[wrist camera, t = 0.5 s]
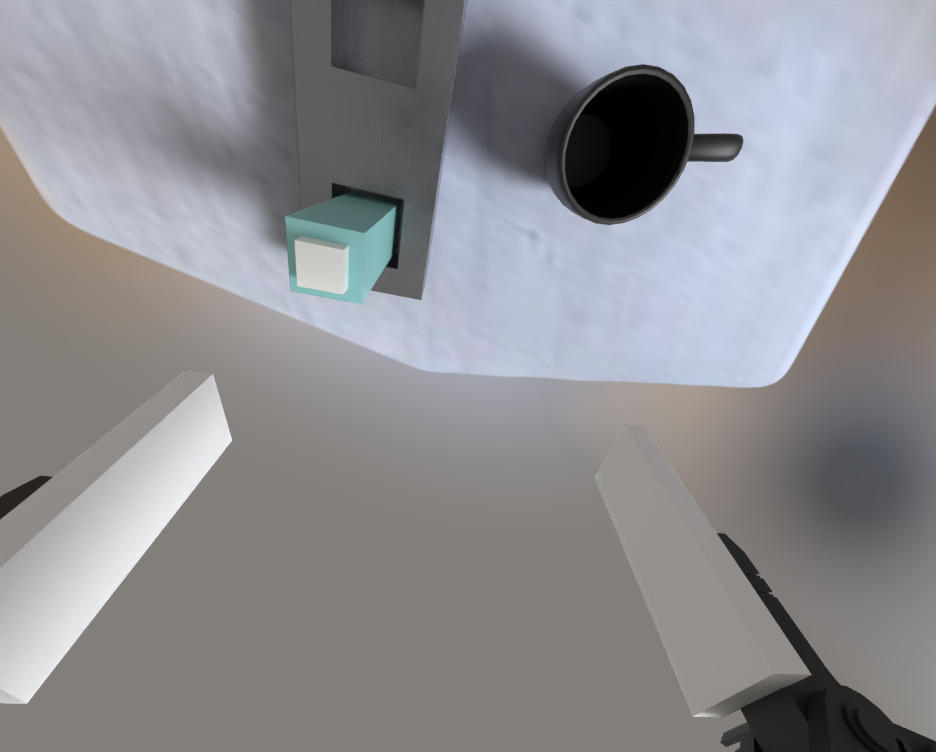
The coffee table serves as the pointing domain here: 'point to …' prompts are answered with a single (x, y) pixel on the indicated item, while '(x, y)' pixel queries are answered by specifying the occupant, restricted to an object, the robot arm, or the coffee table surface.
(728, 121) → the coffee table surface
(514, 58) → the coffee table surface
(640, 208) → the mug
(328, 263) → the plug
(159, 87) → the coffee table surface
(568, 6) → the coffee table surface
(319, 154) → the socket panel
